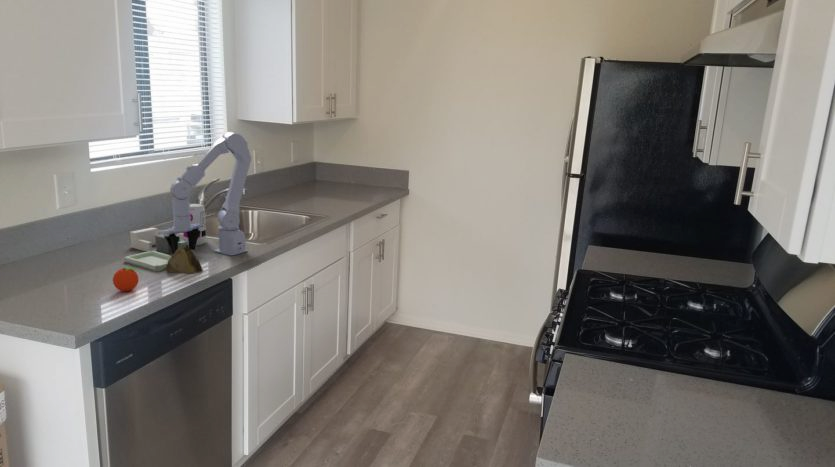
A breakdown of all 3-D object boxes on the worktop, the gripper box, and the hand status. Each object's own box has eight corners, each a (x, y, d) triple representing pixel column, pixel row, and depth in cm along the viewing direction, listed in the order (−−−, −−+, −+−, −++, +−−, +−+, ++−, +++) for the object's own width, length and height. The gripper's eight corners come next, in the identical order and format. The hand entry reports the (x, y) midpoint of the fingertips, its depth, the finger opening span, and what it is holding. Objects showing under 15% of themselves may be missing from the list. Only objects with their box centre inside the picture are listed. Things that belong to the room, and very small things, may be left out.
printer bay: (171, 247, 228) (170, 231, 227) (149, 252, 220) (148, 236, 219) (153, 242, 233) (152, 227, 232) (131, 247, 225) (130, 231, 224)
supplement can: (191, 247, 229) (190, 208, 226) (179, 243, 234) (177, 205, 231) (210, 243, 236) (209, 205, 232) (198, 239, 240) (196, 202, 237)
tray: (184, 264, 208) (184, 259, 208) (157, 271, 199) (156, 266, 198) (152, 255, 217) (152, 250, 216) (124, 262, 207) (123, 257, 207)
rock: (155, 266, 197) (175, 267, 192) (166, 242, 200) (185, 243, 195) (180, 279, 205) (200, 281, 200) (190, 256, 208) (210, 257, 203)
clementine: (142, 285, 185) (140, 263, 184) (144, 292, 179) (142, 269, 178) (113, 288, 182) (111, 265, 180) (114, 295, 176) (112, 272, 174)
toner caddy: (190, 254, 220) (189, 238, 218) (178, 257, 216) (177, 241, 214) (168, 248, 226) (167, 233, 225) (156, 251, 222) (155, 235, 220)
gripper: (191, 210, 222) (192, 246, 225) (156, 216, 210) (158, 254, 213) (204, 213, 219) (205, 249, 222) (169, 219, 207) (172, 257, 210)
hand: (183, 251), depth 217 cm, fingers open, 7 cm apart
